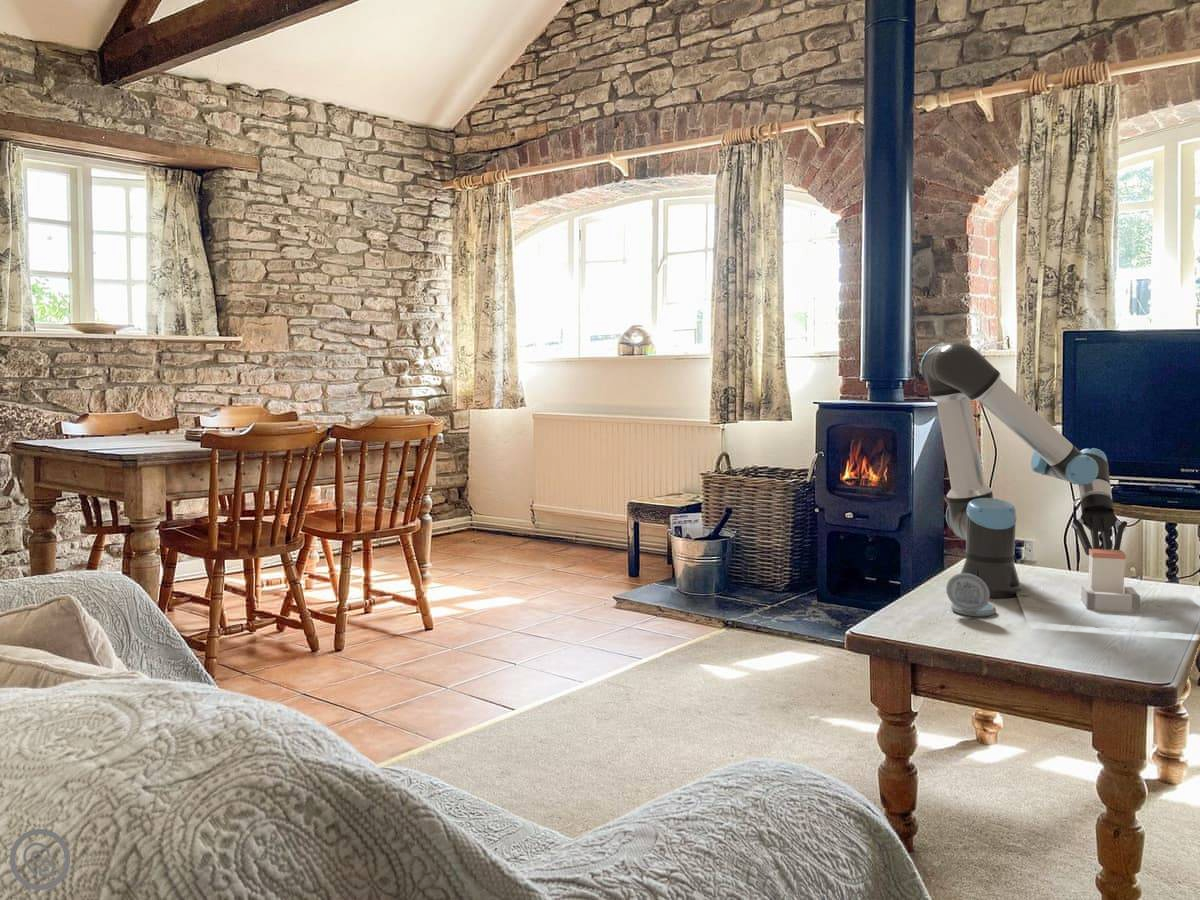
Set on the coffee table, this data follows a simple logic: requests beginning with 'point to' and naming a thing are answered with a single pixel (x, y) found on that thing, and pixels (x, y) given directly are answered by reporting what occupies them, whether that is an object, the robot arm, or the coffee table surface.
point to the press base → (1110, 600)
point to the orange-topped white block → (1106, 570)
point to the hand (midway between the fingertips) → (1105, 577)
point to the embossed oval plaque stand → (969, 595)
